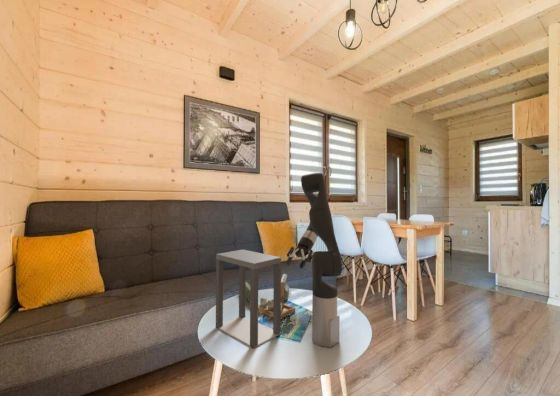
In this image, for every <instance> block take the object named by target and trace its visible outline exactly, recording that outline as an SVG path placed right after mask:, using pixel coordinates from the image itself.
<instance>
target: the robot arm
mask: <svg viewBox="0 0 560 396" xmlns="http://www.w3.org/2000/svg"><path fill="white" fill-rule="evenodd" d="M300 183H301V188H302V190H303V193H304V195H305V197H306V199H307V201H308V203H309V205H310V209H309V212H308V213H309V214H308V217H309V223H308V226H307V228H306V230H305V231H304V233H303V234H302V236H301V237H300V239H299V241H298V243H297V247H294V246H291V247H290V249H289V250H288V252H287V253H286V256H287V260H286V261H285V264H286V265H287V266H290V265H291V263H292V262H293V260H294V259H296V258H302V260H301V262H300V263H299V266H298V267H299V269H301V270H303V268H305V265H306V264H307V263H308V264H309V263H311V274H312V275H311V276H312V277H311V278H312V281H311V282H312V285H311V286H312V302H311V303H312V305H311V306H312V307H311V308H312V309H311V310H312V311H311V312H312V313H311V315H312V316H311V318H312V319H311V320H312V322H311V331H312V332H311V333H312V334H311V340H312V342H313V343H314V344H315V345H318V346H319V347H326V348H332V347H334V346H336V344H338V343H339V342H340V323H341V322H340V320H341V319H340V315H338V288H337V286H336V285H335V284H332V283H329V282H326V280H325V281H324V280H323V277H327V278H328V277H330V278H331V277H340V276H341V275H342V273H343V260H342V256H341V253H340V249H339V246H338V242H337V239H336V235H335V234H336V233H335V228H334V224H333V223H334V222H333V218H332V213H331V207H330V204H329V200H328V194H327V186H326V180H325V176H324V174H323V172H321V171H317V172H315V171H314V172H312V173H307V174H303V175H302V176H301V177H300ZM315 193H318V194H317V195H316V194H315ZM318 237H319V239H320V240H321V241H322V242H323V244H324V245H325V246H326V249H327V251H325V250H323V251H321V250H320V251H319V250H317V251H314V250H313V247H314V245H315V243H316V241H317V238H318Z"/></svg>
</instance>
